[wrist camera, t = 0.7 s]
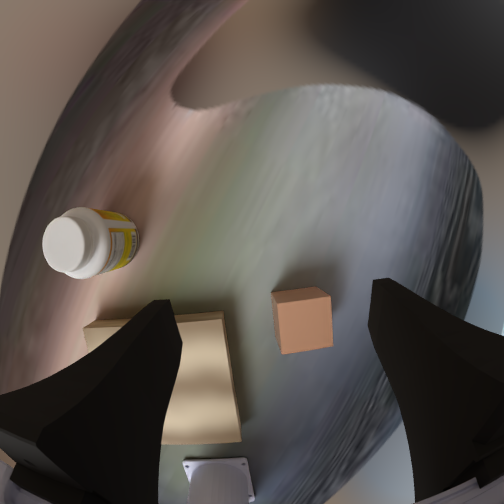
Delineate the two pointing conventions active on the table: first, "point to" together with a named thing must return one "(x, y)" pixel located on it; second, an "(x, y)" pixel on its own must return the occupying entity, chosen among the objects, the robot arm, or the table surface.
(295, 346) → the terracotta block
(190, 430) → the maple base
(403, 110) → the table surface
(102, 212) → the supplement bottle
